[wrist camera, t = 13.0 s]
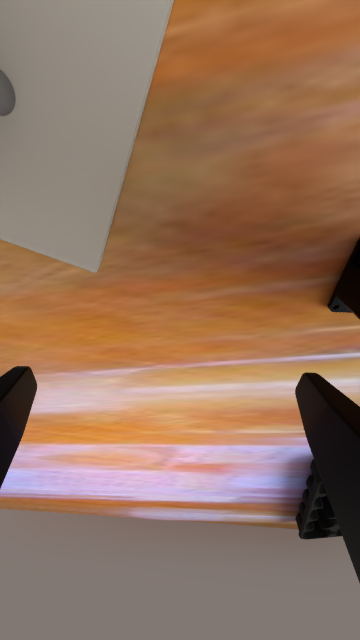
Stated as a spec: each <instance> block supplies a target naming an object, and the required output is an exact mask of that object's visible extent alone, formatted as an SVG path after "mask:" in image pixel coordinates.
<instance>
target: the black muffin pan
mask: <svg viewBox="0 0 360 640" xmlns="http://www.w3.org/2000/svg"><path fill="white" fill-rule="evenodd" d="M310 468H311V471H312V475H310V476H309V477H308V478H307V481H306V484H307V487H308V489H306V490H305V491H304V493H303V496H302V497H303V500H304V502H302V503H300V506H299V510H300V513H298V514H297V516H296V522H297V525H298V529H299V536H300V538H301V539H315V538H327V537H336V536H342V533H341V531H340V528H339V525H338V522H337V520H336V517H335V514H334V511H333V509H332V506H331V503H330V501H329V498H328V495H327V492H326V490H325V487H324V484H323V481H322V479H321V476H320V473H319V471H318V468H317V465H316V462H315V460H314V459H313V460H312V463H311V467H310ZM323 495H326V496H325V497H321V496H323Z"/></svg>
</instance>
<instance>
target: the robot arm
mask: <svg viewBox="0 0 360 640" xmlns="http://www.w3.org/2000/svg"><path fill="white" fill-rule="evenodd" d="M334 305H336V306H335V307H333V306H334ZM328 308H329V309H330V310H331V311H332V312H349V313H354V314H355V315H356V316H357V317H358V318H359V319H360V239H359V240H358V242H357V244H356V246H355V248H354V251H353V253H352V255H351V257H350V259H349V261H348V263H347V265H346V267H345V269H344V271H343V273H342V275H341V277H340V280H339V282H338V284H337V286H336V288H335V290H334V293H333V295H332V297H331V299H330V301H329V304H328ZM36 391H37V382H36V380H35V377H34V375H33V372H32V370H31V368H30V367H28V366H16V367H14V368H12V369H11V370H9V371H8V372H7V373H5V374H4V375H2V376H1V377H0V488H1V486H2V483H3V481H4V479H5V476H6V474H7V472H8V469H9V467H10V464H11V462H12V460H13V457H14V455H15V453H16V450H17V448H18V446H19V443H20V441H21V438H22V436H23V433H24V430H25V427H26V424H27V420H28V417H29V414H30V410H31V407H32V404H33V401H34V397H35V394H36ZM295 394H296V399H297V402H298V406H299V410H300V414H301V418H302V422H303V426H304V430H305V434H306V437H307V440H308V443H309V446H310V449H311V452H312V454H313V457H314V460H315V462H316V465H317V468H318V471H319V473H320V476H321V479H322V481H323V484H324V487H325V490H326V492H327V495H328V498H329V501H330V503H331V506H332V509H333V511H334V514H335V517H336V520H337V522H338V525H339V528H340V531H341V533H342V536H343V539H344V541H345V544H346V547H347V549H348V552H349V555H350V558H351V561H352V563H353V566H354V569H355V571H356V574H357V577H358V580H359V582H360V407H359V406H358V405H357V404H355V403H354V402H353V401H352V400H350V399H349V398H348V397H347V396H345V395H344V394H343V393H342V392H340V391H339V390H338V389H336V388H335V387H334V386H333V385H331V384H330V383H329V382H328V381H326V380H325V379H324V378H323V377H321V376H320V375H319V374H317V373H304V374H303V375H302V376H301V378H300V381H299V383H298V385H297V387H296V390H295Z"/></svg>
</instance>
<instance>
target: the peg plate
mask: <svg viewBox="0 0 360 640" xmlns="http://www.w3.org/2000/svg"><path fill="white" fill-rule="evenodd" d="M173 3H174V0H0V239H1V240H4V241H7V242H9V243H12V244H15V245H18V246H21V247H23V248H26V249H29V250H32V251H35V252H38V253H40V254H43V255H46V256H49V257H52V258H54V259H57V260H60V261H63V262H66V263H69V264H71V265H74V266H77V267H80V268H83V269H85V270H88V271H91V272H94V273H97V271H98V269H99V267H100V264H101V261H102V257H103V254H104V250H105V246H106V243H107V239H108V236H109V232H110V228H111V225H112V221H113V218H114V214H115V211H116V207H117V203H118V200H119V196H120V193H121V189H122V185H123V182H124V178H125V175H126V171H127V168H128V164H129V160H130V157H131V153H132V150H133V146H134V142H135V139H136V135H137V132H138V128H139V124H140V121H141V117H142V114H143V110H144V107H145V103H146V99H147V96H148V92H149V89H150V85H151V81H152V78H153V74H154V71H155V67H156V63H157V60H158V56H159V53H160V49H161V46H162V42H163V38H164V35H165V31H166V28H167V24H168V20H169V17H170V13H171V10H172V6H173Z"/></svg>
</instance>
